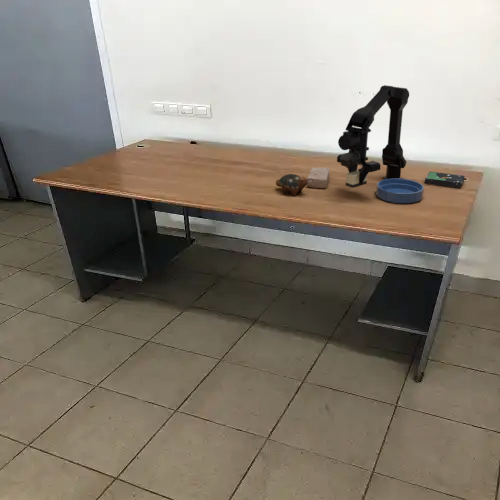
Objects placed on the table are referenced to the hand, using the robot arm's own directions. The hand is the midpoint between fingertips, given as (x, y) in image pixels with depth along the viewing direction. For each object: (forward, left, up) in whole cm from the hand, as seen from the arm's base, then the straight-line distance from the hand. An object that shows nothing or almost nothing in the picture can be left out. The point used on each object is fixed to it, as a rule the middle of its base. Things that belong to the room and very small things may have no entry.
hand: (356, 182), depth 205 cm
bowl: (+7, +16, -6) cm, 18 cm away
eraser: (0, 0, -1) cm, 1 cm away
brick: (-20, -7, -6) cm, 22 cm away
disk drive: (0, +43, -6) cm, 43 cm away
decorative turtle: (-13, -23, -6) cm, 27 cm away
